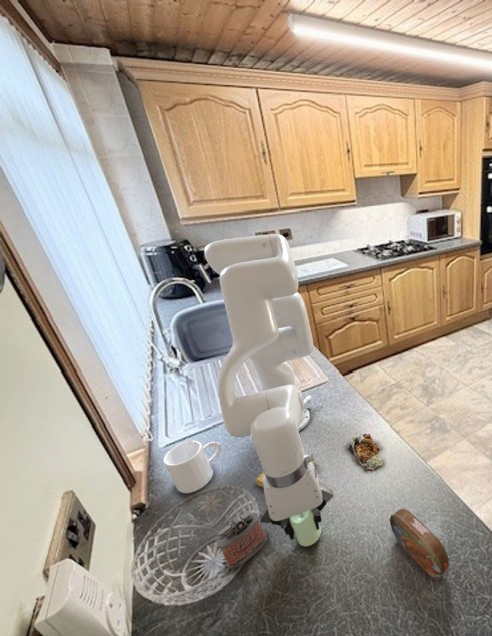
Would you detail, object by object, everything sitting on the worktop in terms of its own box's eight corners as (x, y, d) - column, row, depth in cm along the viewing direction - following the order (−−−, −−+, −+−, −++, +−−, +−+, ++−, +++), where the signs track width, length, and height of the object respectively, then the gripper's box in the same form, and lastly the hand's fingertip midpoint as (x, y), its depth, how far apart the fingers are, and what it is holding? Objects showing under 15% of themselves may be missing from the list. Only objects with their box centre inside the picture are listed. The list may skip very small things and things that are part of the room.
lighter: (262, 531, 77) (250, 501, 73) (270, 541, 75) (258, 510, 71) (225, 562, 72) (210, 531, 67) (232, 573, 70) (217, 542, 65)
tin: (390, 534, 75) (386, 508, 72) (401, 524, 77) (398, 498, 74) (440, 589, 66) (439, 562, 62) (451, 575, 68) (451, 549, 64)
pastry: (367, 474, 90) (366, 464, 88) (346, 447, 98) (344, 438, 97) (390, 460, 94) (389, 450, 92) (367, 435, 102) (366, 426, 101)
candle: (309, 550, 72) (300, 526, 69) (292, 540, 75) (282, 516, 71) (326, 528, 76) (317, 504, 72) (309, 519, 78) (300, 496, 75)
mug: (232, 472, 92) (221, 444, 88) (180, 499, 85) (165, 471, 81) (225, 454, 98) (214, 428, 94) (175, 479, 91) (161, 451, 87)
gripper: (328, 440, 72) (341, 499, 80) (239, 467, 67) (262, 528, 75) (334, 467, 66) (347, 528, 74) (235, 500, 60) (261, 562, 68)
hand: (304, 527), depth 74 cm, fingers closed on candle, 4 cm apart
